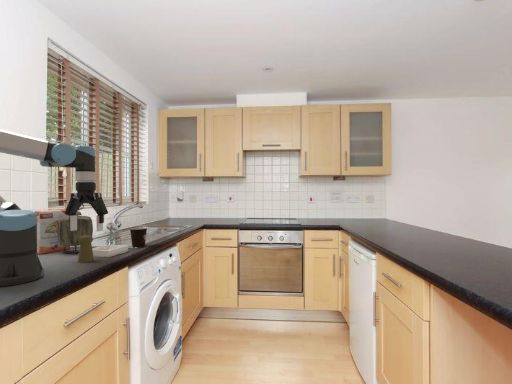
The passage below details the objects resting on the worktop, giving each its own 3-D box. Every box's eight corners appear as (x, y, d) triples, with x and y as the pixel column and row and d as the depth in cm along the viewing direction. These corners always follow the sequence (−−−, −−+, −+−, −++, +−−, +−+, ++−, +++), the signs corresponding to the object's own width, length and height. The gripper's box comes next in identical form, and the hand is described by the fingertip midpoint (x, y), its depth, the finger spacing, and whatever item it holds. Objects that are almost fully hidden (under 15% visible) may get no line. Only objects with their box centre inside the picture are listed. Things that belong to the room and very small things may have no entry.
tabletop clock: (93, 248, 146) (92, 201, 146) (92, 252, 138) (92, 201, 138) (59, 251, 139) (59, 202, 139) (56, 255, 131) (56, 202, 131)
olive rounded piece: (86, 262, 117) (86, 236, 117) (74, 262, 118) (74, 236, 118) (97, 259, 123) (97, 234, 123) (85, 258, 124) (85, 234, 124)
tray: (108, 257, 127) (108, 250, 127) (86, 256, 129) (86, 249, 129) (128, 251, 139) (128, 245, 139) (107, 250, 142) (107, 244, 142)
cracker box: (39, 254, 133) (39, 211, 133) (33, 253, 136) (33, 210, 136) (71, 249, 145) (71, 209, 145) (65, 248, 148) (64, 209, 148)
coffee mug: (139, 244, 157) (139, 227, 157) (150, 245, 153) (150, 227, 153) (121, 248, 147) (121, 229, 147) (133, 249, 143) (132, 230, 143)
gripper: (116, 181, 121) (117, 230, 121) (69, 182, 127) (70, 228, 127) (103, 181, 114) (104, 232, 114) (54, 182, 120) (55, 231, 120)
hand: (86, 230), depth 121 cm, fingers open, 13 cm apart
